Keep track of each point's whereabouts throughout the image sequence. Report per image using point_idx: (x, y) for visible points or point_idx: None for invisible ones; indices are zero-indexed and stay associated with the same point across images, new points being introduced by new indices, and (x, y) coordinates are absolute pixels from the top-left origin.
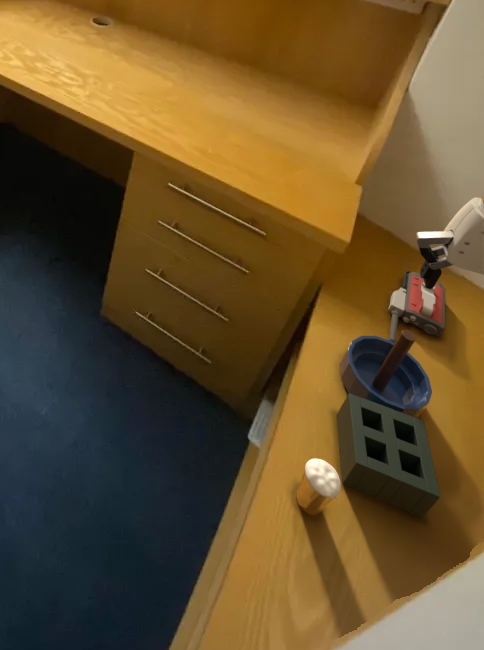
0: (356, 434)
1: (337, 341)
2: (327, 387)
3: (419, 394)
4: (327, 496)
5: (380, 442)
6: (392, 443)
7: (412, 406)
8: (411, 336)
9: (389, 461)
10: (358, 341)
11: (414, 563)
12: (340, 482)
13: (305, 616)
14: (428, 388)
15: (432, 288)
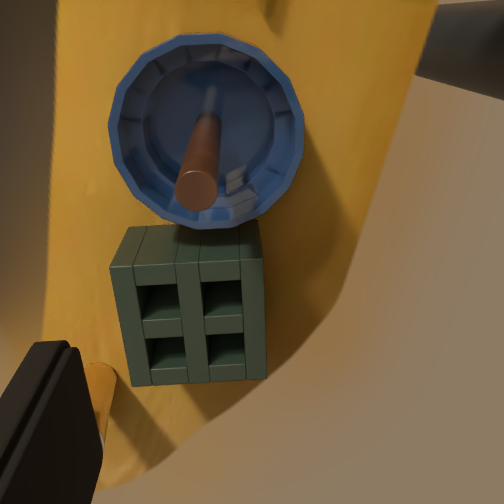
0: (129, 343)
1: (115, 28)
2: (106, 174)
3: (285, 138)
4: None
5: (174, 336)
6: (195, 330)
7: (252, 214)
8: (203, 193)
9: (188, 362)
10: (133, 80)
11: (242, 381)
12: (101, 441)
13: (114, 474)
14: (296, 148)
15: (100, 466)
